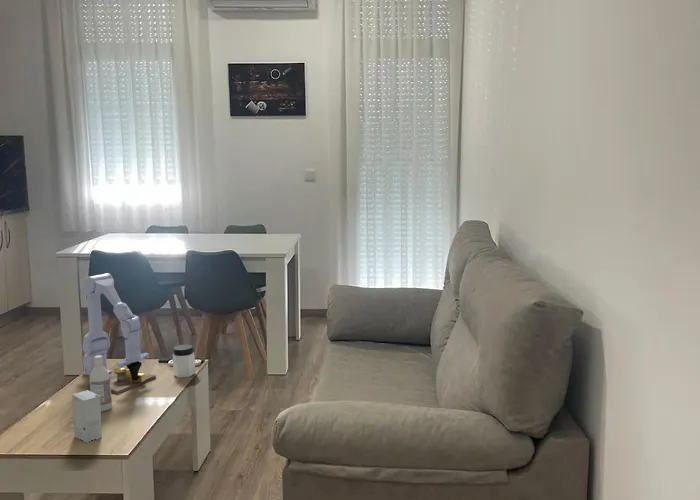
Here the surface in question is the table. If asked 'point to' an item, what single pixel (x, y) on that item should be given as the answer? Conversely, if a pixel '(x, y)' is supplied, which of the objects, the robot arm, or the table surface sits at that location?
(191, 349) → the jar
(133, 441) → the table surface
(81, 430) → the skincare box
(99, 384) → the bath foam
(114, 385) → the base
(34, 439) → the table surface
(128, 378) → the door handle
